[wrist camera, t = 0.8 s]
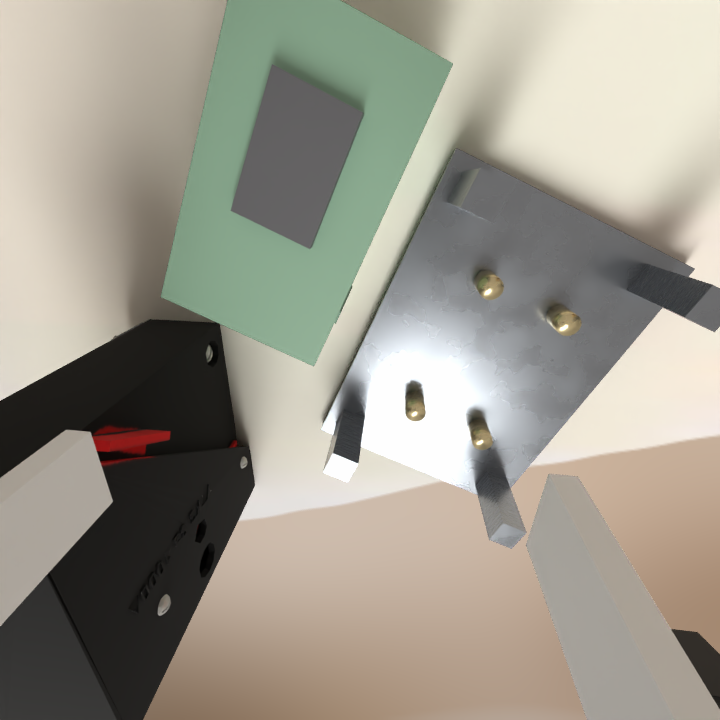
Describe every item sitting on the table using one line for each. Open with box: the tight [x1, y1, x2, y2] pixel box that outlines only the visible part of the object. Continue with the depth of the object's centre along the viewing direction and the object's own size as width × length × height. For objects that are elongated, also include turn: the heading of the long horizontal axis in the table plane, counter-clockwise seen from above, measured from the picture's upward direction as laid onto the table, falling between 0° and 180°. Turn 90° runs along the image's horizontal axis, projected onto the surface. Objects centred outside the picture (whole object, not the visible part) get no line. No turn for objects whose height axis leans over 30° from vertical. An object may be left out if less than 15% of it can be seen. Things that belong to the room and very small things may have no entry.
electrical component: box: [0, 319, 255, 720], centre depth 26 cm, size 18×10×20 cm, turn 179°
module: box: [161, 0, 453, 366], centre depth 22 cm, size 9×15×11 cm, turn 155°
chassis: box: [321, 148, 720, 549], centre depth 27 cm, size 18×24×7 cm
